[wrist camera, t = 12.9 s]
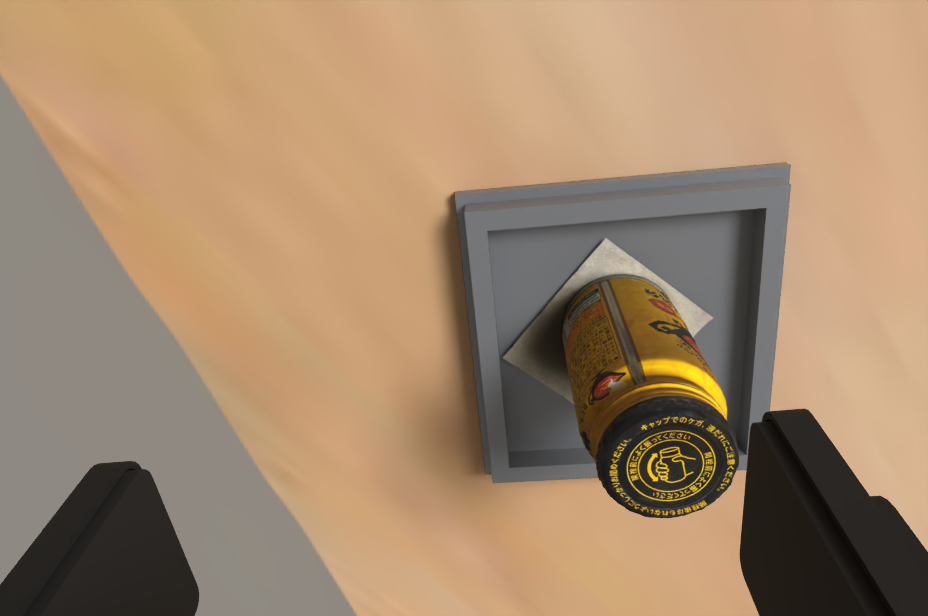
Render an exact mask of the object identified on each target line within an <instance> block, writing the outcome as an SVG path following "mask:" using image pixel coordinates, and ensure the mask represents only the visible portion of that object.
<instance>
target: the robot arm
mask: <svg viewBox="0 0 928 616" xmlns="http://www.w3.org/2000/svg"><path fill="white" fill-rule="evenodd" d="M740 563H741V569H742V572H743V576H744V579H745V581H746V584H747V586H748V589H749V591H750V594H751V596H752V599H753V601H754V603H755V606H756V608H757V611H758V613H759V616H928V552H927V550H926V549H925V548H924V546H923V545H922V544H921V542H920V541H919V540H918V538H917V537H916V535H915V534H914V533H913V531H912V530H911V529H910V527H909V526H908V525H907V523H906V522H905V521H904V519H903V518H902V516H901V515H900V514H899V512H898V511H897V510H896V508H895V507H894V506H893V505H892V504H891V503H890V502H889V501H888V500H887V499H885V498H883V497H881V496H869V494H868V493H867V491H866V490H865V489H864V487H863V486H862V484H861V483H860V482H859V480H858V479H857V477H856V476H855V474H854V473H853V472H852V470H851V469H850V467H849V466H848V465H847V463H846V462H845V460H844V459H843V457H842V456H841V455H840V453H839V452H838V450H837V449H836V448H835V446H834V445H833V443H832V442H831V440H830V439H829V438H828V436H827V435H826V433H825V432H824V430H823V429H822V428H821V426H820V425H819V423H818V422H817V421H816V419H815V418H814V416H813V415H812V414H811V413H810V412H809V410H806V409H795V410H782V411H769V412H766V413H764V415H763V417H762V422H755V423H752V425H751V427H750V436H749V448H748V460H747V472H746V484H745V496H744V508H743V520H742V532H741V544H740ZM198 602H199V590H198V586H197V583H196V581H195V578H194V576H193V574H192V571H191V569H190V567H189V564H188V562H187V559H186V557H185V554H184V552H183V549H182V547H181V545H180V542H179V540H178V537H177V535H176V533H175V530H174V528H173V525H172V523H171V521H170V518H169V516H168V513H167V511H166V509H165V506H164V504H163V502H162V499H161V497H160V494H159V492H158V489H157V487H156V484H155V482H154V480H153V477H152V475H151V474H150V472H149V471H148V470H144V469H141V467H140V466H139V464H137V463H136V462H132V461H126V462H113V463H100V464H97V465H94V466H93V467H92V468H91V469H90V470H89V471H88V472H87V474H86V475H85V476H84V478H83V479H82V480H81V481H80V483H79V484H78V485H77V486H76V488H75V489H74V490H73V492H72V493H71V494H70V495H69V497H68V498H67V499H66V501H65V502H64V503H63V505H62V506H61V507H60V509H59V510H58V511H57V512H56V514H55V515H54V516H53V517H52V519H51V520H50V521H49V523H48V524H47V525H46V526H45V528H44V529H43V530H42V532H41V533H40V535H39V536H38V537H37V538H36V539H35V541H34V542H33V543H32V545H31V546H30V547H29V548H28V550H27V551H26V552H25V554H24V555H23V556H22V557H21V559H20V560H19V561H18V563H17V564H16V565H15V567H14V568H13V569H12V570H11V572H10V573H9V574H8V575H7V577H6V578H5V579H4V581H3V582H2V583H1V585H0V616H194V615H195V613H196V610H197V607H198Z"/></svg>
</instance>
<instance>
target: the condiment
mask: <svg viewBox="0 0 928 616" xmlns="http://www.w3.org/2000/svg"><path fill="white" fill-rule="evenodd" d="M712 319H713V317H711V316H710V315H709V314H708V313H706V312H705V311H704V310H702V309H701V308H700V307H698V306H697V305H696V304H694V303H693V302H692V301H690V300H689V299H688V298H686V297H685V296H684V295H682V294H681V293H680V292H678V291H677V290H676V289H674V288H673V287H672V286H670V285H669V284H668V283H667V282H665V281H664V280H662V279H661V278H660V277H658V276H657V275H656V274H654V273H653V272H652V271H650V270H649V269H648V268H646V267H645V266H643V265H642V264H641V263H639V262H638V261H637V260H635V259H634V258H633V257H631V256H629V255H628V254H627V253H625V252H624V251H623V250H621V249H620V248H619V247H617V246H616V245H615V244H613V243H612V242H611V241H609V240H608V239H607V238H605V240H604V241H603V242H602V243H601V244H600V245H599V247H598V248H597V249H596V250H595V251H594V252H593V253H592V254H591V255H590V257H589V258H588V259H587V260H586V261H585V262H584V263H583V264H582V265H581V267H580V268H579V269H578V271H577V272H576V273H575V274H574V275H573V276H572V277H571V278H570V279H569V280H568V282H567V283H566V284H565V285H564V286H563V288H562V289H561V290H560V291H559V292H558V293H557V295H556V296H555V297H554V298H553V300H552V301H551V302H550V303H549V304H548V305H547V307H546V308H545V309H544V311H543V312H542V313H541V314H540V315H539V316H538V317H537V318H536V319H535V320H534V322H533V323H532V324H531V325H530V326H529V327H528V328H527V329H526V331H525V332H524V333H523V334H522V335H521V337H520V338H519V339H518V341H517V342H516V343H515V344H514V346H513V347H512V348H511V349H510V350H509V351H508V352H507V353H506V355H505V356H504V357H503V359H505V360H507V361H508V362H510V363H511V364H513V365H515V366H517V367H518V368H520V369H521V370H523V371H524V372H526V373H528V374H529V375H531V376H532V377H534V378H535V379H537V380H538V381H540V382H542V383H543V384H545V385H546V386H548V387H549V388H551V389H552V390H554V391H555V392H556V393H558V394H560V395H562V396H564V397H565V398H566V399H567V400H569V401H570V402H571V403H573V404H574V405H575V411H576V418H577V422H578V427H579V433H580V436H581V438H582V441H583V443H584V445H585V448H586V450H587V451H588V452H589V454H590V455H591V456H592V457H593V459H594V461H595V462H596V469H597V474H598V478H599V480H600V481H601V482H602V485H603V487H604V488H605V489H606V491H607V493H608V494H609V495H610V496H611V497H612V498H613V499H614V500H615V501H616V502H617V503H618V504H620V505H622V506H624V507H625V508H626V509H628V510H629V511H632V512H634V513H637V514H640V515H642V516H645V517H655V518H673V517H679V516H684V515H687V514H690V513H692V512H695V511H698V510H702V509H704V508H705V507H706V506H708V505H710V504H711V503H712V502H714V501H715V500H716V499H717V498H719V497H720V496H721V495H722V494H723V493H724V492H725V491H726V490H727V488H728V487H729V486H730V485H731V483H732V479H733V477H734V474H735V472H736V470H737V468H738V466H739V453H738V446H737V442H736V436H735V433H734V432H733V430H732V429H731V427H730V424H729V422H728V421H727V406H726V400H725V397H724V395H723V392H722V390H721V388H720V386H719V384H718V382H717V380H716V377H715V375H714V373H713V372H712V371H711V370H710V368H709V366H708V365H707V363H706V361H705V359H704V358H703V356H702V354H701V352H700V350H699V348H698V347H697V345H696V342H695V340H694V339H693V337H694V336H695V335H696V334H697V332H698V331H699V330H701V328H702V327H704V326H705V325H706V324H707V323H708V322H709V321H710V320H712Z"/></svg>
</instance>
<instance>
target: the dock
mask: <svg viewBox="0 0 928 616" xmlns="http://www.w3.org/2000/svg"><path fill="white" fill-rule="evenodd" d="M790 167H791V165H789V164H787V163H775V164H764V165H753V166H741V167H730V168H719V169H707V170H696V171H685V172H673V173H662V174H651V175H639V176H628V177H617V178H605V179H594V180H583V181H572V182H560V183H549V184H538V185H526V186H515V187H504V188H492V189H481V190H470V191H458V192H455V203H456V212H457V221H458V230H459V239H460V248H461V257H462V266H463V275H464V284H465V293H466V302H467V312H468V321H469V330H470V339H471V348H472V357H473V366H474V375H475V384H476V393H477V402H478V411H479V420H480V429H481V438H482V447H483V456H484V465H485V474H492V479H493V483H504V482H524V481H543V480H562V479H581V478H598V474H597V469H596V462H595V461H594V459H593V457H592V456H591V455H590V454H589V452H588V451H587V450H586V448H585V445H584V443H583V441H582V438H581V436H580V433H579V427H578V422H577V418H576V411H575V405H574V404H573V403H571V402H570V401H569V400H567V399H566V398H565V397H564V396H562V395H560V394H558V393H556V392H555V391H554V390H552V389H551V388H549V387H548V386H546V385H545V384H543V383H542V382H540V381H538V380H537V379H535V378H534V377H532V376H531V375H529V374H528V373H526V372H524V371H523V370H521V369H520V368H518V367H517V366H515V365H513V364H511V363H510V362H508V361H507V360H505V359H503V357H504V356H505V355H506V353H507V352H508V351H509V350H510V349H511V348H512V347H513V346H514V344H515V343H516V342H517V341H518V339H519V338H520V337H521V335H522V334H523V333H524V332H525V331H526V329H527V328H528V327H529V326H530V325H531V324H532V323H533V322H534V320H535V319H536V318H537V317H538V316H539V315H540V314H541V313H542V312H543V311H544V309H545V308H546V307H547V305H548V304H549V303H550V302H551V301H552V300H553V298H554V297H555V296H556V295H557V293H558V292H559V291H560V290H561V289H562V288H563V286H564V285H565V284H566V283H567V282H568V280H569V279H570V278H571V277H572V276H573V275H574V274H575V273H576V272H577V271H578V269H579V268H580V267H581V265H582V264H583V263H584V262H585V261H586V260H587V259H588V258H589V257H590V255H591V254H592V253H593V252H594V251H595V250H596V249H597V248H598V247H599V245H600V244H601V243H602V242H603V241H604V240H605V238H607V239H608V240H609V241H611V242H612V243H613V244H615V245H616V246H617V247H619V248H620V249H621V250H623V251H624V252H625V253H627V254H628V255H629V256H631V257H633V258H634V259H635V260H637V261H638V262H639V263H641V264H642V265H643V266H645V267H646V268H648V269H649V270H650V271H652V272H653V273H654V274H656V275H657V276H658V277H660V278H661V279H662V280H664V281H665V282H667V283H668V284H669V285H670V286H672V287H673V288H674V289H676V290H677V291H678V292H680V293H681V294H682V295H684V296H685V297H686V298H688V299H689V300H690V301H692V302H693V303H694V304H696V305H697V306H698V307H700V308H701V309H702V310H704V311H705V312H706V313H708V314H709V315H710V316H711V317H713V319H712V320H710V321H709V322H708V323H707V324H706V325H705V326H704V327H702V328H701V330H699V331H698V332H697V334H696V335H695V336H694V337H693V339H694V340H695V342H696V345H697V347H698V348H699V350H700V352H701V354H702V356H703V358H704V359H705V361H706V363H707V365H708V366H709V368H710V370H711V371H712V372H713V373H714V375H715V377H716V380H717V382H718V384H719V386H720V388H721V390H722V392H723V395H724V397H725V400H726V406H727V421H728V422H729V424H730V427H731V429H732V430H733V432H734V433H735V436H736V442H737V446H738V453H739V466H738V468H737V470H747V460H748V448H749V436H750V427H751V425H752V423H755V422H762V417H763V415H764V413H766V412H769V411H770V402H771V391H772V381H773V370H774V359H775V349H776V338H777V328H778V317H779V306H780V296H781V285H782V274H783V264H784V253H785V243H786V232H787V221H788V211H789V200H790V189H791V184H789V178H790Z"/></svg>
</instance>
